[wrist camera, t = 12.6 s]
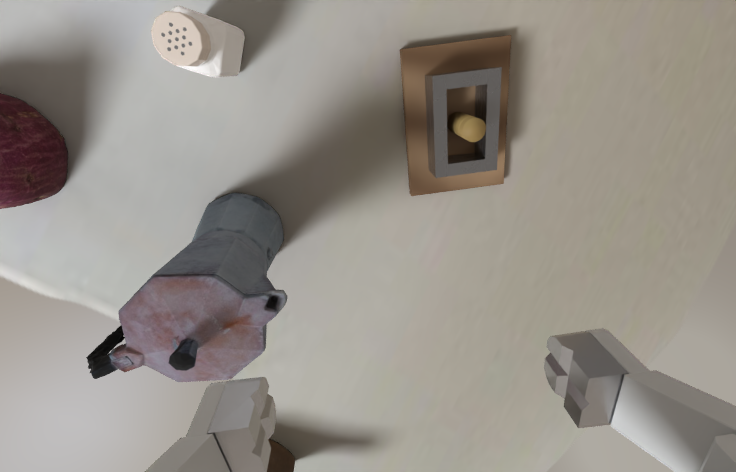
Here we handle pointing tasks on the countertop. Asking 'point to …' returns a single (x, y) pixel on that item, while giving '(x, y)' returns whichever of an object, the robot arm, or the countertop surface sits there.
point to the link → (485, 109)
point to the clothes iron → (280, 458)
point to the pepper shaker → (198, 42)
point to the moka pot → (204, 300)
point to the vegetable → (28, 155)
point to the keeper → (452, 109)
